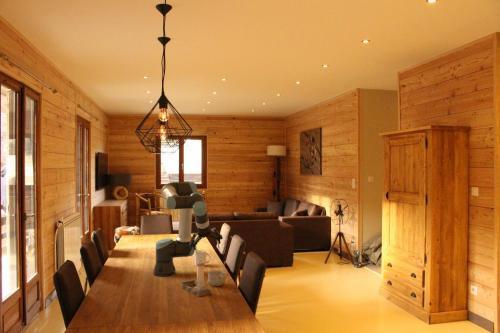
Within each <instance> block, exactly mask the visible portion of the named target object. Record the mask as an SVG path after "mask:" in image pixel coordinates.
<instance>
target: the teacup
mask: <svg viewBox="0 0 500 333" xmlns="http://www.w3.org/2000/svg"><path fill="white" fill-rule="evenodd" d="M207 281H208V283H209V285H211V286H212V287H213V286H214V287H220V286H222V285H224V283H225V281H226V271H223V270H211V271H208V272H207Z"/></svg>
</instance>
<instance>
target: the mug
mask: <svg viewBox="0 0 500 333" xmlns="http://www.w3.org/2000/svg"><path fill="white" fill-rule="evenodd" d="M197 252H198V255H197V254H196V250H195V252H194V254H193V255H194V257H193V258H194V262H193V263H194V266H195V267H197V265H196V263H204V267H205V266H206V265H207V264H209V263H210V261H211V259H212V257H211V254H209V253H208V252H207V250H204V249H197ZM207 256H208V257H209V260H207Z"/></svg>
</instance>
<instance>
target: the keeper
mask: <svg viewBox="0 0 500 333" xmlns="http://www.w3.org/2000/svg"><path fill="white" fill-rule="evenodd" d="M196 265H197V266H196V284H197V286H196V287H194V289H196V290H198V291H200V292H202V291H206V290H207V289H208V288H207V287H206V286H205V284H204V283H205V278H204V277H205V271H204V270H205V266H204V263H196Z"/></svg>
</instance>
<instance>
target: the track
mask: <svg viewBox="0 0 500 333" xmlns="http://www.w3.org/2000/svg"><path fill="white" fill-rule="evenodd" d="M196 286H197V282H196V280H195V279H192V280H191V279H190V280H185V281H181V288H182V290H184V291H186V292H189V293H191V294H193V295H195V296H197V297H202V296H207V295H211V294H212V290H211V289H210V288H207V290H206V291H202V292H200V291H198V290H196V289H194V287H196Z"/></svg>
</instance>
